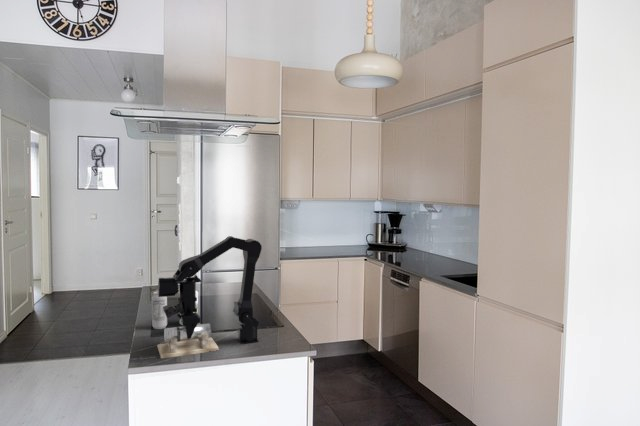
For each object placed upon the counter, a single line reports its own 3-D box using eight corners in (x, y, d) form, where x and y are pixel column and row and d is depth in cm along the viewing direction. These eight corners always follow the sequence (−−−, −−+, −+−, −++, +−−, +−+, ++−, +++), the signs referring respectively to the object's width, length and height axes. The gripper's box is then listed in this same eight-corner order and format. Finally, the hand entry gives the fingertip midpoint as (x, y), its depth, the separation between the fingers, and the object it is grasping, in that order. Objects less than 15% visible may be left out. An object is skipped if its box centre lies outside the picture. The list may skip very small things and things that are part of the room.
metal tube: (208, 334, 172) (208, 321, 172) (211, 339, 168) (211, 325, 167) (164, 340, 166) (164, 326, 165) (165, 344, 161) (165, 330, 161)
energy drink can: (169, 325, 194) (169, 290, 193) (163, 329, 188) (163, 294, 187) (155, 324, 194) (155, 290, 193) (149, 329, 188) (149, 293, 187)
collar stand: (211, 339, 176) (211, 324, 176) (218, 350, 166) (218, 334, 165) (157, 347, 168) (157, 331, 168) (160, 358, 157) (160, 341, 157)
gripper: (161, 290, 171) (162, 331, 172) (167, 302, 154) (167, 347, 155) (192, 288, 175) (192, 327, 176) (200, 299, 158) (201, 343, 159)
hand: (187, 336), depth 167 cm, fingers closed on metal tube, 5 cm apart
